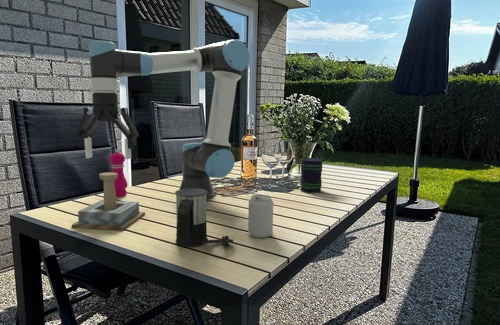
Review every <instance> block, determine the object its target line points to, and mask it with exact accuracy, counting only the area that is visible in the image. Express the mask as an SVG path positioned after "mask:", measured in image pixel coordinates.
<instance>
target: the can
mask: <svg viewBox="0 0 500 325" xmlns="http://www.w3.org/2000/svg"><path fill="white" fill-rule="evenodd" d="M247 217H248V220H247V223H248V224H247V226H248V228H247V230H248V231H247V233H248V235H250V236H251V237H253V238H258V239H265V238H268V237H270V236H271V235H272V234H274V233H273V232H274V231H273V230H274V228H273V227H274V225H273V224H274V223H273V222H274V201H273V200H272V197H271V196H270V195H267V194H254V195H252V196H250V200H249V201H248V216H247Z"/></svg>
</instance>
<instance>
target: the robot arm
mask: <svg viewBox="0 0 500 325" xmlns="http://www.w3.org/2000/svg"><path fill="white" fill-rule="evenodd" d="M88 51H89V53H88V54H89V55H88V57H89V65H90V66H89V67H90V76H91V77H90V79H91V80H90V83H91V91H92V94H91V98H92V105H93V107H86V106H85V107H83V115H82V116H81V120H80V122H79V125H78V127H77V130H76V132H75V136H76V137H80V138H81V139H82V147H83V148H84V149H85V150H84V153H85V159H91V158H93V144H92V137H90V136H91V134H92V133H93V131H94V130H95V129H96V128H97V126H98V125H99V123H101V122H102V123H104V122H107V123H110V122H111V123H113V124H115V125H116V127H117V128H118V129H119V130H120V132H121V133H122V135H124V137H125V138H124V156H125V160H130V159H132V149H134V138H137V137H139V136H140V135H139V132H138V130H137V129H136V126H135V123H134V121H133V120H132V118H131V117H130V113H129V108H128V107H121V108H119V106H118V105H119V98H118V96H119V94H118V93H116V92H117V91H118V83H117V78H123V77H124V78H125V77H133V76H134V77H135V76H142V77H143V76H149V75H154V74H163V73H165V74H166V73H167V74H168V73H175V72H176V73H177V72H186V71H187V72H188V71H193V72H194V73H212V75H213V76H214V78H215V79H214V85H213V92H212V98H211V105H210V113H209V120H208V127H207V133H206V138H205V139H203V140H202V142H193V143H185V144H183V145H182V150H181V155H182V156H181V157H182V158H181V159H182V161H181V162H182V179H181V183H180V186H179V189H178V190H180V189H188V188H194V189H204V190H207V194H206V200H207V199H211V198H212V197H214V196H215V190H214V186H213V183H212V181H211V178H214V179H223V178H225V177H226V176H228V175H229V174H230V173H231V172H232V170H233V169H234V167H235V163H236V162H235V156H234V154H233V153H232V151H231V149H232V145H231V143H230V142H229V137H230V131H231V123H232V117H233V110H234V105H235V104H234V103H235V96H236V89H237V83H238V81H239V80H240V79H242V75H243V71H244V70H245V69H246V68H247V67H248V66H249V64H250V60H251V59H250V58H251V56H250V52H249V49H248V48H247V46H246V44H245V43H244V42H243V41H241V40H239V39H226V40H225V41H220V42H215V43H214V42H213V43H211V44H208V45H205V46H201V47H193V48H191V49H190V50H183V51H168V52H151V53H149V52H144V51H143V52H142V51H135V50H134V51H132V50H120V49H117V48H116V46H115V43H114V42H112V41H109V40H108V41H107V40H93V41H91V42H90V43H89V50H88ZM92 114H93V115H94V117H93V118H92V119H91V116H92ZM119 114H120V115H121V118H122V119H123V121H124V123H125V124H126V125H125V124H124V123H123V121H122V120H121V118H120V117H119V116H118V115H119ZM90 120H91V121H90ZM89 121H90V122H89ZM88 123H89V124H88Z"/></svg>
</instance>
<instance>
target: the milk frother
mask: <svg viewBox="0 0 500 325" xmlns="http://www.w3.org/2000/svg"><path fill="white" fill-rule="evenodd" d="M179 189H180V188H179ZM179 189H177V190H176V191H175V192H174V193H175V195H176V196H175V199H176V200H175V201H176V205H175V206H176V212H175V214H176V216H175V217H176V233H175V235H176V237H175V243H176V244H177V245H178V246H182V247H190V248H191V247H199V246H202V245H205V244H222V245H221V246H225V247H227V246H229V245H230V243H234V238H233V239H231V238H229V235H226V236H221V238H218V239H209V238H208V232H207V199H206V194H207V190H204V189H194V188H188V189H180V190H179Z"/></svg>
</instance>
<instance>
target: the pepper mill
mask: <svg viewBox="0 0 500 325" xmlns="http://www.w3.org/2000/svg"><path fill="white" fill-rule="evenodd" d="M125 160H126V159H125V154H123V153H121V152H120V149H118V148H117V149H115V150H114V153H112V154H111V155H110V158H109V161H110V162H111V168H112V173H117V174H118V178H116V179H115V180H114V185H115V194H116V198H117V197H118V198H119V197H125V196H127V195H128V194H127V192H128V191H127V187H128V181H127V178H126V177H125V173H124V168H125V166H124V165H125V164H124V162H126V161H125Z"/></svg>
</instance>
